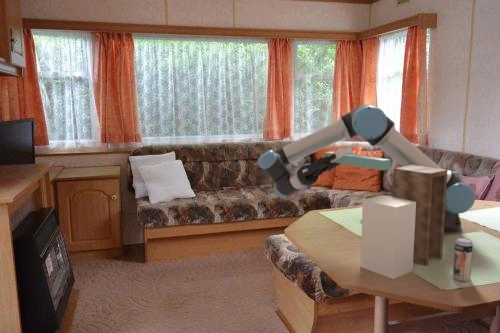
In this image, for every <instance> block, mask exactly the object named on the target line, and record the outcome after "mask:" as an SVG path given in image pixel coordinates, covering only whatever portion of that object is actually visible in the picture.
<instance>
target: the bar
mask: <svg viewBox="0 0 500 333" xmlns="http://www.w3.org/2000/svg"><path fill="white" fill-rule="evenodd" d="M334 152H335V151H325V152H324V157H327V156H329V155H330V154H332V153H334ZM334 163H341V164H340V165H349V166H353V167H360V168H367V169H373V170H379V171H387V170H390V169H391V159H388V158H383V157H382V158H380V157H373V156H367V155H360V154H346V153H345V156H343V157H342V158H340V159H338V160H336V161H335V162H334Z"/></svg>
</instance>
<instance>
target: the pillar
mask: <svg viewBox="0 0 500 333" xmlns="http://www.w3.org/2000/svg"><path fill="white" fill-rule="evenodd" d="M375 196H376V197H372V198H368V199H362V210H361V211H362V212H361V214H362V215H361V216H362V217H361V244H360V245H361V247H360V250H361V252H360V254H361V255H360V268H363V269H366V270H368V271H371V272H373V273H375V274H378V275H381V276H384V277H386V278H389V279H392V280H395V279H397V278H400V277H402V276H404V275H407V274H409V273H411V272H413V269H414V268H413V267H414V263H413V254H414V234H415V214H416V202H414V201H409V200H405V199H400V198H395V197H393V196H390V195H384V194H381V195H375Z"/></svg>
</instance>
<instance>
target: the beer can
mask: <svg viewBox="0 0 500 333" xmlns="http://www.w3.org/2000/svg"><path fill="white" fill-rule="evenodd" d="M473 247H474V243H473V241H472V239H469V238H465V237H458V238H457V239H456V240H455V241H454V255H453V271H452V277H453V279H455V280H456V281H459V282H469V281H470V280H471V273H472V261H473V250H474V249H473Z"/></svg>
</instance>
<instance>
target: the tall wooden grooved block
mask: <svg viewBox="0 0 500 333" xmlns="http://www.w3.org/2000/svg"><path fill="white" fill-rule="evenodd" d="M447 172H448V169H443V168H441V169H437V168H430V167H423V166H416V165H408V166H403V167H402V166H400V167H399V166H398V167H394V168H393V177H392V178H393V179H392V197H395V198H400V199H405V200H409V201H414V202H416V214H415V234H414V254H413V262H414V263H413V264H417V265H420V266H423V267H427V266H429V258H431V259H435V260H438V261H441V260H443V250H444V237H445V235H444V234H445V232H444V221H445V205H446V189H447Z"/></svg>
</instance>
